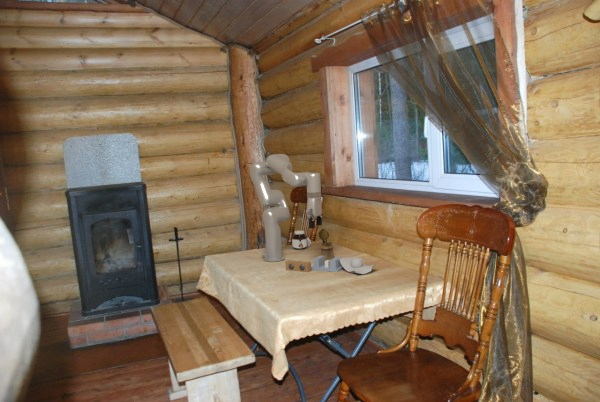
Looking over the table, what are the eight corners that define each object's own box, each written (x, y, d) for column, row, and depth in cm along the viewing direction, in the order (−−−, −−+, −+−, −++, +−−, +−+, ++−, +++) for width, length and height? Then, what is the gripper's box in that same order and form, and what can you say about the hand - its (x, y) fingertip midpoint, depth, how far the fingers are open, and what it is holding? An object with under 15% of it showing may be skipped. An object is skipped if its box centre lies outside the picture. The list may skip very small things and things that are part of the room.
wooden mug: (331, 257, 285) (330, 228, 283) (337, 263, 271) (336, 231, 269) (316, 259, 283) (315, 229, 281) (322, 264, 270) (320, 233, 268)
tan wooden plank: (285, 270, 261) (285, 261, 260) (288, 268, 264) (288, 260, 263) (308, 272, 254) (307, 263, 253) (311, 271, 257) (311, 262, 257)
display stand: (310, 269, 259) (310, 259, 258) (318, 265, 268) (318, 255, 267) (337, 272, 251) (337, 261, 251) (344, 267, 260) (344, 256, 259)
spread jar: (291, 250, 312) (290, 232, 310) (294, 246, 323) (293, 229, 322) (309, 249, 310) (308, 232, 308) (312, 246, 321) (311, 229, 319)
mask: (354, 277, 241) (379, 275, 246) (355, 262, 240) (380, 261, 246) (336, 267, 259) (360, 266, 265) (337, 254, 259) (360, 253, 264)
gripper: (314, 193, 267) (315, 223, 268) (301, 197, 251) (302, 229, 253) (326, 193, 263) (328, 224, 265) (314, 197, 248) (315, 229, 250)
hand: (315, 226), depth 259 cm, fingers open, 9 cm apart
